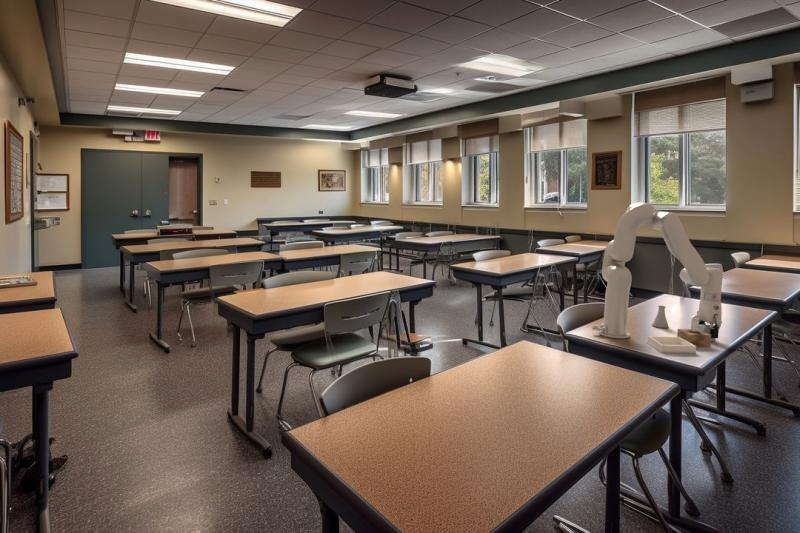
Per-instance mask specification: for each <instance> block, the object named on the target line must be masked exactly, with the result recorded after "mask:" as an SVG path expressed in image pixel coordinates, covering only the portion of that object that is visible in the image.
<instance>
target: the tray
mask: <svg viewBox="0 0 800 533" xmlns="http://www.w3.org/2000/svg"><path fill="white" fill-rule="evenodd" d="M646 344H648V345H649V346H650V347H653V348H654V349H655V350H657V351H658V352H660V353H661V354H662V353H664V354H667V353H668V354H689V355H690V354H691V355H692V354H693V355H695V354H697V353H696V352H697V347H696V346H695V345H693V344H691V343H689V342H688V341H686V340H684V339H682V338H680V337H677V336H653V335H651V336H650V335H649V336H647V343H646Z"/></svg>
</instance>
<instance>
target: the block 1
mask: <svg viewBox="0 0 800 533" xmlns="http://www.w3.org/2000/svg"><path fill="white" fill-rule="evenodd" d="M690 330H691V328H677V333H676V334H677V335H676V337H680V338H682V339H684V340H686V341H688V342H689V343H691V344H693V345H695V346H696V348H697V347H700V348H702V347H703V348H706V347H707V348H711V343H712V341H711V335H710V334H708V333H706V332H704V331H702V330H700V329H698V333H690Z"/></svg>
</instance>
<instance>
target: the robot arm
mask: <svg viewBox="0 0 800 533" xmlns="http://www.w3.org/2000/svg"><path fill="white" fill-rule="evenodd" d="M641 226H644V227H646V228H650V229H653V230H656V231H659V232H660V234H661V236H662V238H663V240H664V242H665V245H666V247H667V249H668V251H669V252H670V254H672V256H673V257H675V258H676V259H677V260H678V261H679V262H680V263H681V264H682V266H683V267H684V268H682V269H681V270H680V273H679V277H680V280H682V282H684V283H685V284H688V285H691V286H694V287H697V288H700V295H699V298H700V300H699V306H698V310H697V311H696V315H698V316H700V317H699V325H707V324H708V325H711V328H712V329H710V335H711V338H716V339H718V338H719V332H720V331H719V330H720V329H721V325H722V323H723V321H722V314H723V312H722V301H721V300H722V299H721V298H722V288H723V287H722V286H723V278H724V277H723V276H724V271H723V269H721V268H719V267H718V268H717V267H707V266H706V264H705V262H704V260H703V258H702V257H701V255H700V254H699V252H698V251H697V250H696V248H695V246H693V244H692V242H691V241H690V239H689V236H688V235H687V233H686V230H685V229H684V226H683V224H682V222H681V219H680V218H679V216H678V215H677V214H676V213H674V212H671V211H661V210H659V209H655V207H654V205H652V204H651V203H648V202H634V203H631V204H629V206H628V207H627V209H626V211H625V213H624V214H623V215H622V216H621V217H620V218H619V220H618V222H617V225H616V229H615V233H614V236H613V237H614V238H613V239H612V240H611V241H609V242H608V243H607V245H606V246H605V249H604V254H603V258H602V259H603V260H602V265H601V276H602V278H603V280H604V281H605V282H607V285H606V289H605V297H604V311H603V312H604V313H603V323H602V322H601V324H599V325H594V324H593V325H592V326H591V330H594V331H595V330H596V331H598V333H599V335H601V336H603V337H606V338H610V339H611V338H612V339H620V340H621V339H622V340H623V339H628V338H630V336H631V333H629V332H628V331H627V327H628V326H627V325H628V313H629V300H630V299H629V298H630V297H629V296H630V291H631V286H632V282H633V281H632V279H633V278H632V272H631V271H630V270H629V268H628V267H626V266H625V265H626V263H627V262H629V261H630V260H632V259H633V256H634V251H635V245H636V239H637V235H638V231H639V229H640V228H641Z"/></svg>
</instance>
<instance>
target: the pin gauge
mask: <svg viewBox="0 0 800 533" xmlns="http://www.w3.org/2000/svg"><path fill="white" fill-rule="evenodd" d="M699 317H700V316H698V315H697V314H692V315H691V320H690V329H691V330H690V333H698V328H699Z"/></svg>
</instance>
